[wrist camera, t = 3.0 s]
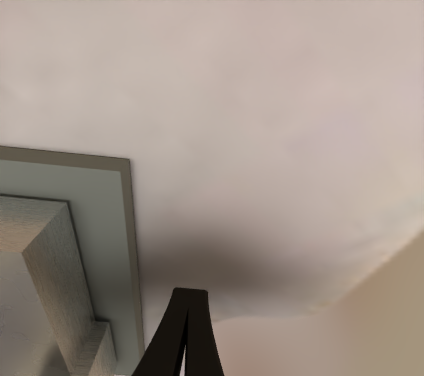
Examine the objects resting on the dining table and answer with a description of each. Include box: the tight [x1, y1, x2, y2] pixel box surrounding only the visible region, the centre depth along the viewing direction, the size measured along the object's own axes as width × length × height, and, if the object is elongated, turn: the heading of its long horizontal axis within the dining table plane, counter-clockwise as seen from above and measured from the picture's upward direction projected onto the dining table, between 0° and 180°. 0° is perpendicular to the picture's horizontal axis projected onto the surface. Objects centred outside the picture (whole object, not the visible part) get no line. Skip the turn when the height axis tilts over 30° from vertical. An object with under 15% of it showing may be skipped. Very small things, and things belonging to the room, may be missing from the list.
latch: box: [0, 196, 117, 376], centre depth 11 cm, size 12×4×2 cm, turn 175°
